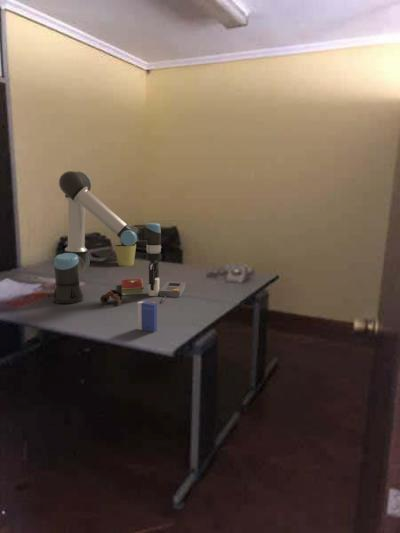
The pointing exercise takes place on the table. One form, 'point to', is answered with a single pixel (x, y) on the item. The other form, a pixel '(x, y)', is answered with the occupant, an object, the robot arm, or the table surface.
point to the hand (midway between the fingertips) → (154, 293)
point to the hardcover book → (132, 286)
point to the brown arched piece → (106, 297)
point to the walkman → (147, 316)
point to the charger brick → (157, 290)
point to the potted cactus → (125, 254)
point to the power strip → (172, 289)
